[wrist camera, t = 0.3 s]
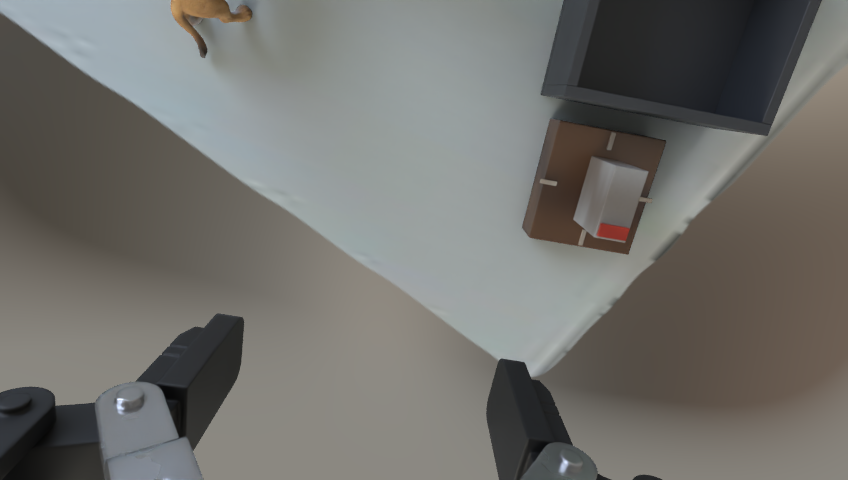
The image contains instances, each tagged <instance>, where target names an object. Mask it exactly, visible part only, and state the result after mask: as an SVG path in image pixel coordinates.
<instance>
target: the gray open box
mask: <svg viewBox="0 0 848 480" xmlns="http://www.w3.org/2000/svg"><path fill="white" fill-rule="evenodd" d="M821 1H822V0H564V2H563V6H562V10H561V14H560V18H559V22H558V26H557V30H556V34H555V38H554V43H553V47H552V51H551V55H550V59H549V63H548V67H547V71H546V75H545V79H544V83H543V87H542V91H541V95H544V96H549V97H554V98H560V99H565V100H570V101H575V102H580V103H585V104H591V105H596V106H601V107H606V108H611V109H616V110H621V111H627V112H632V113H637V114H642V115H647V116H652V117H658V118H663V119H668V120H673V121H678V122H683V123H688V124H694V125H699V126H704V127H709V128H714V129H722V130H729V131H736V132H743V133H750V134H757V135H765V136H768V133H769V131H770V128H771V126H772V123H773V121H774V118H775V116H776V113H777V111H778V108H779V106H780V103H781V101H782V98H783V96H784V93H785V91H786V88H787V86H788V83H789V81H790V78H791V76H792V73H793V71H794V68H795V66H796V63H797V61H798V58H799V56H800V53H801V51H802V48H803V46H804V43H805V41H806V38H807V36H808V33H809V31H810V28H811V26H812V23H813V21H814V18H815V16H816V13H817V11H818V8H819V6H820V3H821Z"/></svg>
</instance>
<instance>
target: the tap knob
mask: <svg viewBox="0 0 848 480" xmlns="http://www.w3.org/2000/svg"><path fill="white" fill-rule="evenodd" d="M647 175H648V171H646V170H643V169H640V168H638V167H635V166H632V165H629V164H627V163H624V162H621V161H617V160H611V159H606V158H601V157H595V156H592V157H591V160H590V163H589V167H588V170H587V174H586V177H585V181H584V184H583V187H582V191H581V194H580V198H579V201H578V205H577V208H576V212H575V215H574V218H573V220H574V221H576V222H577V223H578V224H579V225H580V226H581V227H583V228H584V229H585V230H586V231H587V232H589V233H590V234H591V235H592V236H593V237H595V238H601V239H607V240H612V241H618V242H626V239H627V236H628V233H629V230H630V227H631V224H632V221H633V218H634V215H635V212H636V209H637V206H638V203H639V200H640V197H641V194H642V190H643V187H644V184H645V181H646V178H647Z"/></svg>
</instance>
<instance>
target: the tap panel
mask: <svg viewBox="0 0 848 480" xmlns="http://www.w3.org/2000/svg"><path fill="white" fill-rule="evenodd" d="M665 144H666V141H665V140H661V139H656V138H652V137H647V136H642V135H636V134H631V133H626V132H621V131H615V130H610V129H605V128H600V127H594V126H589V125H584V124H579V123H573V122H568V121H563V120H558V119H552V118H551V119H550V121H549V125H548V129H547V133H546V137H545V141H544V144H543V148H542V152H541V156H540V160H539V164H538V168H537V172H536V176H535V180H534V183H533V187H532V191H531V195H530V199H529V203H528V207H527V211H526V215H525V218H524V222H523V226H522V228H523V230H524V231H525V232H526V234H527V235H528V236H529V237H530V238H534V239H540V240H546V241H552V242H558V243H564V244H569V245H575V246H581V247H587V248H593V249H598V250H604V251H610V252H616V253H622V254H629V251H630V248H631V245H632V242H633V239H634V236H635V233H636V230H637V227H638V224H639V221H640V218H641V215H642V212H643V209H644V206H645V203H646V202H647V203H651V202H652V199H650V198H647V197H648V194H649V191H650V188H651V185H652V182H653V179H654V176H655V173H656V171H657V168H658V165H659V162H660V159H661V156H662V153H663V150H664V147H665ZM592 156H595V157H601V158H606V159H611V160H617V161H621V162H624V163H627V164H629V165H632V166H635V167H638V168H640V169H643V170H646V171H648V175H647V178H646V181H645V184H644V187H643V190H642V194H641V197H640V200H639V203H638V206H637V209H636V212H635V215H634V218H633V221H632V224H631V227H630V230H629V233H628V236H627V239H626V242H618V241H612V240H607V239H601V238H595V237H593V236H592V235H591V234H590V233H589V232H587V231H586V230H585V229H584V228H583V227H581V226H580V225H579V224H578V223H577V222H576V221H574V220H573V218H574V215H575V212H576V208H577V205H578V201H579V198H580V194H581V191H582V187H583V184H584V181H585V177H586V174H587V170H588V167H589V163H590V160H591V157H592Z"/></svg>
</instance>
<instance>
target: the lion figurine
mask: <svg viewBox="0 0 848 480" xmlns="http://www.w3.org/2000/svg"><path fill="white" fill-rule="evenodd" d="M171 11H172V14H173V16H174V18H175V20H176V21H177V23H178V24H179V25H180V26H181V27H183V28H184V29H185V30H186V31H187V32H189V33H190V34H191V35H192V36H193V37H194V39H195V41H196V42H197V44H198V48H199V50H200V55H201V57H203V58H205V56H206V53H207V47H206V44H205V42H204V40H203V38H202V37H201V36H200V35H199V33H198V32H197V31H196V30H195V29H194V28H193V26H194V25H197V24H199V23H200V22H201V21H202V18H219V19H220V20H221V21H222V22H223V23H229V22H246V21H248V20H250V19H251V17H252V11H251V10H250V9H249V8H248V7H247V6H245V5H240V6H238V7H237V9H236V10H235V11H233V12H230V9H229V5H228V4H227V2H226V1H225V0H171Z"/></svg>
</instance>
